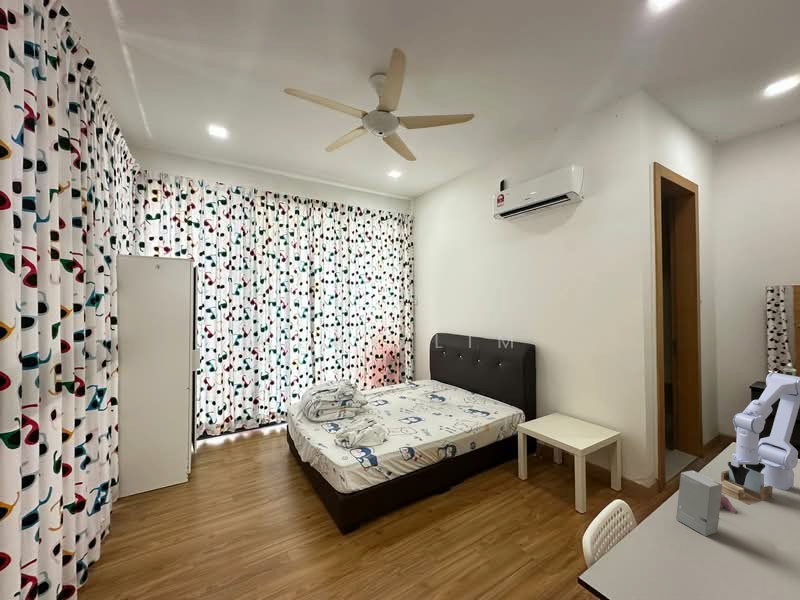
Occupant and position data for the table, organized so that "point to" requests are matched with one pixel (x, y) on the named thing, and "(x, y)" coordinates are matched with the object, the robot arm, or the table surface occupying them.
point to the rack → (749, 491)
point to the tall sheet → (751, 480)
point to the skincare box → (699, 502)
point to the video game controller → (726, 504)
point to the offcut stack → (732, 490)
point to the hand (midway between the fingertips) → (745, 482)
